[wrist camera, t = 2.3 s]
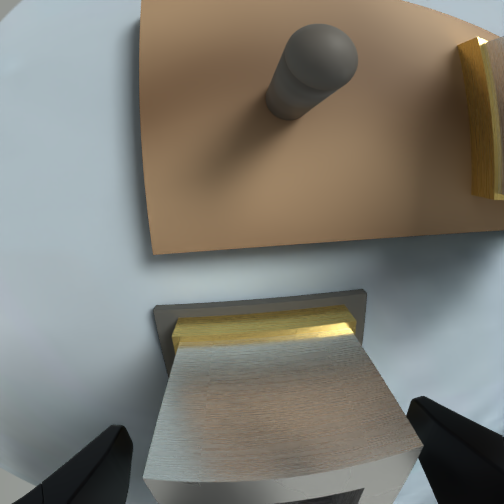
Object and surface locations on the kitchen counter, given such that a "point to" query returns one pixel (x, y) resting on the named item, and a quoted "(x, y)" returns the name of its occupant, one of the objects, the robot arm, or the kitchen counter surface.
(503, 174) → the seated sleeve
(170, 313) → the dark grey square plate
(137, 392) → the kitchen counter surface
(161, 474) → the sleeve
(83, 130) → the kitchen counter surface
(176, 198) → the pin board
